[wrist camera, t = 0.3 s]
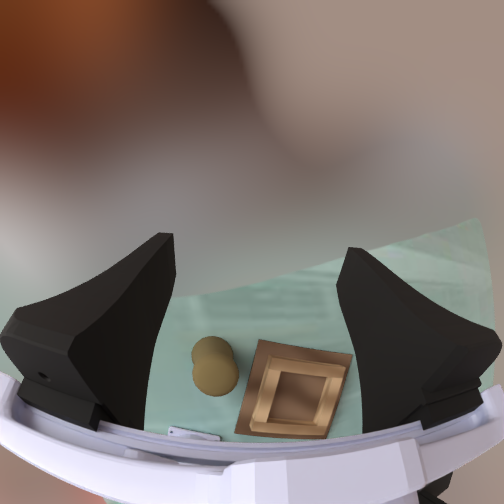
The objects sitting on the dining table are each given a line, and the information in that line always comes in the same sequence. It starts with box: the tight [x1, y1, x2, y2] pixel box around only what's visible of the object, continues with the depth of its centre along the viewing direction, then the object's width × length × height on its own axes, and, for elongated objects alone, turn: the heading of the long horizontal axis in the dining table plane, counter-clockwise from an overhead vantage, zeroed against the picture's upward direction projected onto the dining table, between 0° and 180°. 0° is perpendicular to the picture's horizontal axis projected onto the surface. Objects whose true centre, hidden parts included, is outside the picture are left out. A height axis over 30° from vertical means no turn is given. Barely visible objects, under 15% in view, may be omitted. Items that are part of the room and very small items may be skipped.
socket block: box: [234, 339, 352, 439], centre depth 37 cm, size 16×16×2 cm
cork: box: [192, 336, 239, 397], centre depth 32 cm, size 6×6×11 cm
